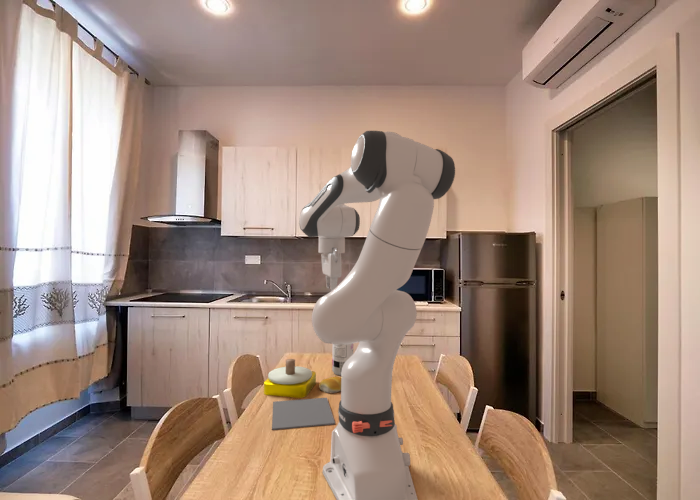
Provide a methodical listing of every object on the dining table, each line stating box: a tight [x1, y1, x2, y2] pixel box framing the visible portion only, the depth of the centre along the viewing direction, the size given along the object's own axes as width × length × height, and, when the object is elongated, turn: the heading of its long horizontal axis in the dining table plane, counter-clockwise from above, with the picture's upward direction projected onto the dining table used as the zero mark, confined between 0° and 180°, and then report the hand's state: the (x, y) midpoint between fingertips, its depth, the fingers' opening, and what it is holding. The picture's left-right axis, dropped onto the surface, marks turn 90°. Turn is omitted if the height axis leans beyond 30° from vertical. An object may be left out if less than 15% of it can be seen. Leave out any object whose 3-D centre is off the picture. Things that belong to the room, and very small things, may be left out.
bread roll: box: [318, 375, 341, 394], centre depth 121 cm, size 8×9×4 cm
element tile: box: [263, 370, 317, 399], centre depth 121 cm, size 15×15×5 cm
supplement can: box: [331, 343, 354, 377], centre depth 137 cm, size 8×8×15 cm
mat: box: [271, 397, 336, 431], centre depth 102 cm, size 17×17×1 cm
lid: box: [267, 358, 313, 384], centre depth 120 cm, size 15×15×6 cm
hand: (331, 289), depth 115 cm, fingers open, 8 cm apart
